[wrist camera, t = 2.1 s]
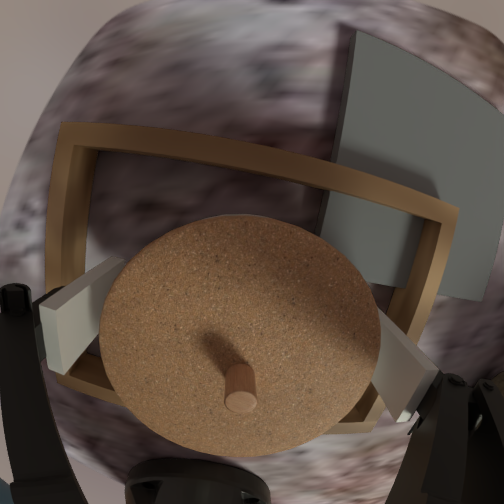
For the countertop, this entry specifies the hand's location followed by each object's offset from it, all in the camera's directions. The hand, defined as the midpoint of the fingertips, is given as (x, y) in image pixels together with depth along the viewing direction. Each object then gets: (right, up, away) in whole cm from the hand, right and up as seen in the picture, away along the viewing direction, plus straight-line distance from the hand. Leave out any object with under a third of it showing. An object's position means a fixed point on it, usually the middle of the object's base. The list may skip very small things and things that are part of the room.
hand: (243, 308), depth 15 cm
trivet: (+13, +8, +1) cm, 15 cm away
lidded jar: (0, 0, +3) cm, 3 cm away
